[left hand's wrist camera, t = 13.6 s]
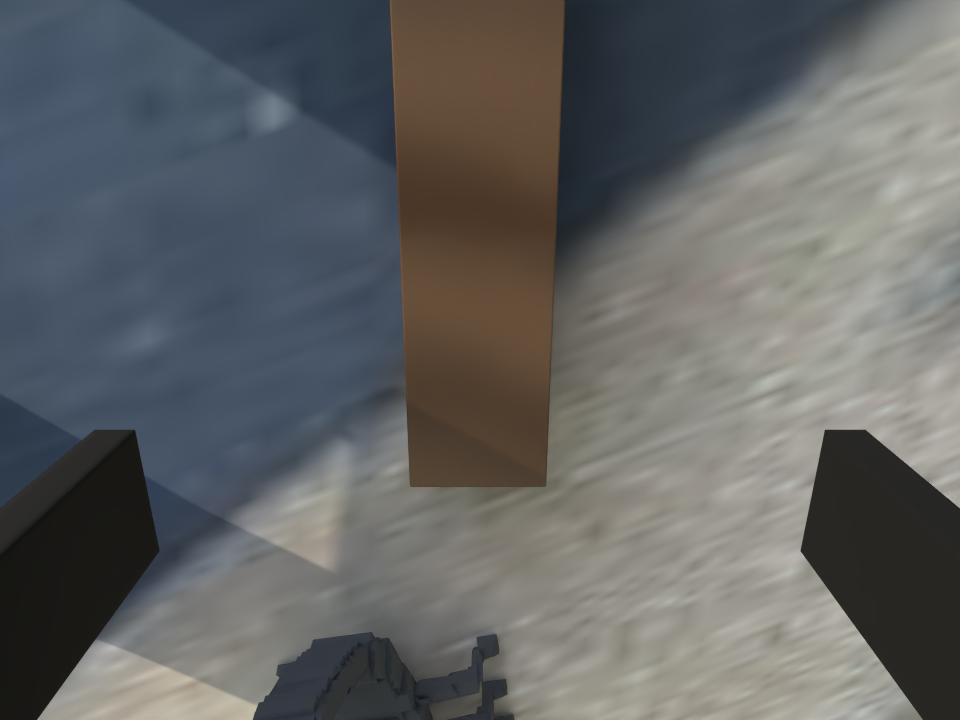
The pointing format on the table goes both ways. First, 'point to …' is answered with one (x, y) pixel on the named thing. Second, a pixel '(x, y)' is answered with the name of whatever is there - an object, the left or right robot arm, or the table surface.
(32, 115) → the table surface
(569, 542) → the table surface
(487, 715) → the toy
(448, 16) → the bar
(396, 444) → the table surface
